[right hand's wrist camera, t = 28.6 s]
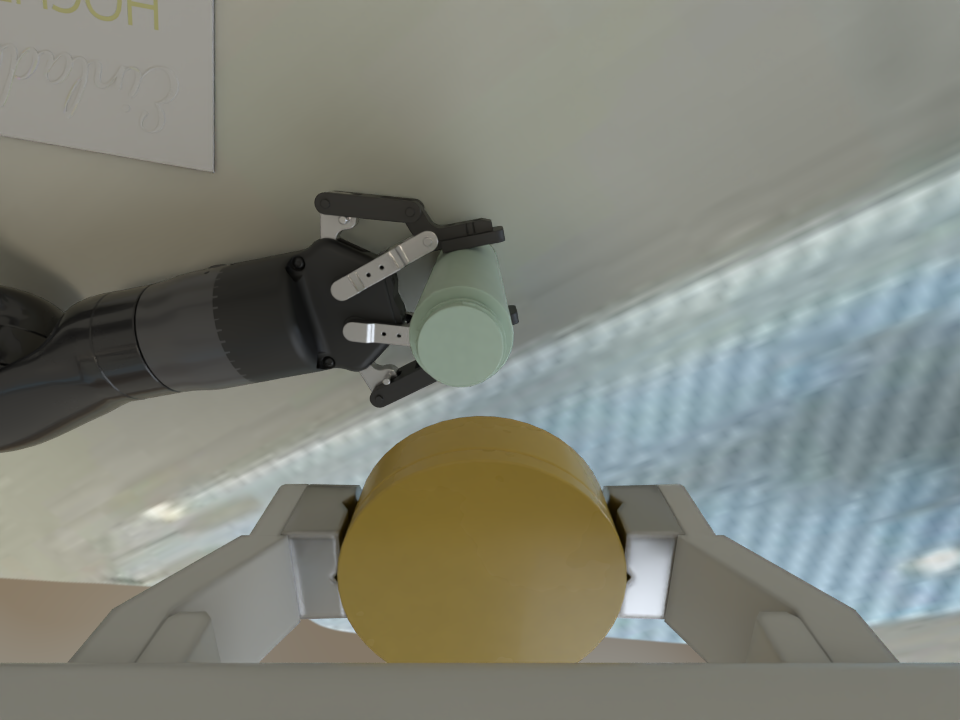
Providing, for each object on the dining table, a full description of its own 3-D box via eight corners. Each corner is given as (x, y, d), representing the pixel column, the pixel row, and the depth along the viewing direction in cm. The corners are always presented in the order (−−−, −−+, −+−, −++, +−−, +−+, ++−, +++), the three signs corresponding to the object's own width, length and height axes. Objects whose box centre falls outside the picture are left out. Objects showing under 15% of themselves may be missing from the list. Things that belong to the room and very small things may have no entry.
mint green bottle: (491, 300, 39) (503, 406, 22) (432, 289, 39) (397, 388, 21) (503, 241, 38) (526, 304, 20) (442, 229, 37) (413, 283, 20)
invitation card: (211, -101, 30) (212, 172, 35) (213, -99, 31) (214, 172, 36) (-183, -182, 29) (-123, 114, 34) (-177, -179, 29) (-119, 114, 34)
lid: (655, 540, 10) (683, 602, 9) (467, 657, 11) (465, 730, 10) (499, 362, 9) (503, 400, 8) (305, 513, 10) (275, 571, 9)
